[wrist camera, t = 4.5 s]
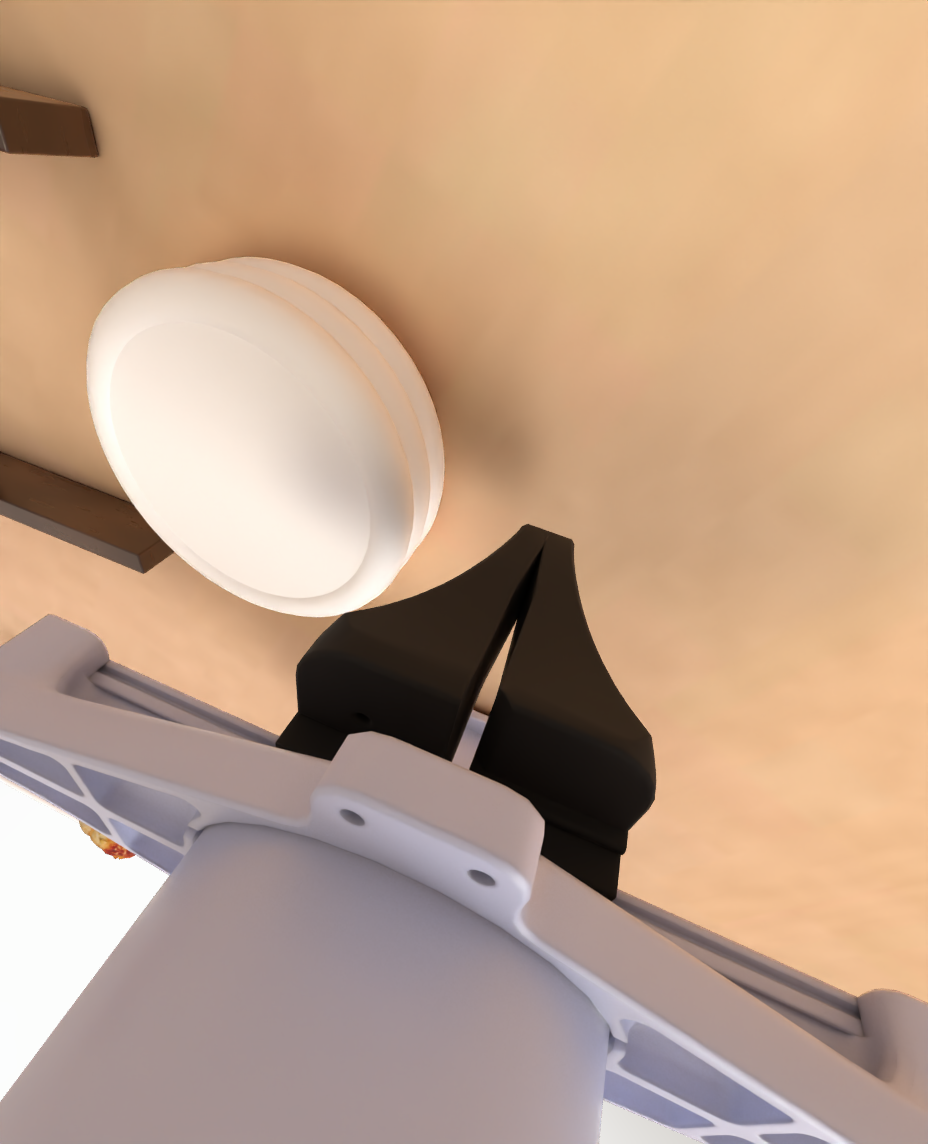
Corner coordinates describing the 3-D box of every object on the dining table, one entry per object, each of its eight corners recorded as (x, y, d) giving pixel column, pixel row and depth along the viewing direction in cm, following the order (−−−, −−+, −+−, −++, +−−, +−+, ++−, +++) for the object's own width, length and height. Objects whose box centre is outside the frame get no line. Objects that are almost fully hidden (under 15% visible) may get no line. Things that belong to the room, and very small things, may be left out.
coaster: (426, 600, 19) (384, 667, 16) (199, 510, 20) (126, 559, 18) (482, 314, 12) (427, 350, 10) (142, 210, 14) (13, 216, 11)
